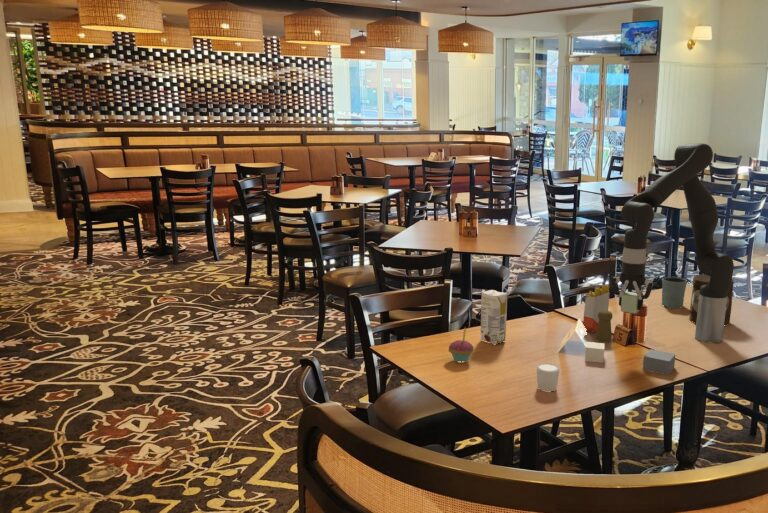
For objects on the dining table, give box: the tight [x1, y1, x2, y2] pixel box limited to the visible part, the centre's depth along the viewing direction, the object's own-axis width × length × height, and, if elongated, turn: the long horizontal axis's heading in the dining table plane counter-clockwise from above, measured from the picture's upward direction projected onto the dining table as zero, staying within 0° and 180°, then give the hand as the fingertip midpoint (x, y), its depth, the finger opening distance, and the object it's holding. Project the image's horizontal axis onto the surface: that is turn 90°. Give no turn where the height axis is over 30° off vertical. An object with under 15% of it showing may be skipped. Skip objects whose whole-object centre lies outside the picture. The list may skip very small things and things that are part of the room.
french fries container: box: [582, 285, 610, 334], centre depth 251 cm, size 5×11×18 cm, turn 131°
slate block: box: [642, 349, 676, 376], centre depth 213 cm, size 8×8×5 cm
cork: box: [594, 310, 613, 343], centre depth 241 cm, size 6×6×11 cm
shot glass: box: [536, 363, 560, 392], centre depth 198 cm, size 7×7×7 cm
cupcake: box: [448, 326, 474, 362], centre depth 220 cm, size 9×8×12 cm
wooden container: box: [688, 273, 734, 326], centre depth 259 cm, size 15×15×22 cm
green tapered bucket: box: [661, 276, 688, 309], centre depth 283 cm, size 10×10×12 cm
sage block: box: [620, 291, 640, 314], centre depth 222 cm, size 5×5×6 cm
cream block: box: [584, 341, 606, 364], centre depth 222 cm, size 6×6×5 cm
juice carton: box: [480, 289, 508, 345], centre depth 238 cm, size 8×9×19 cm
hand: (630, 308), depth 222 cm, fingers closed on sage block, 5 cm apart
